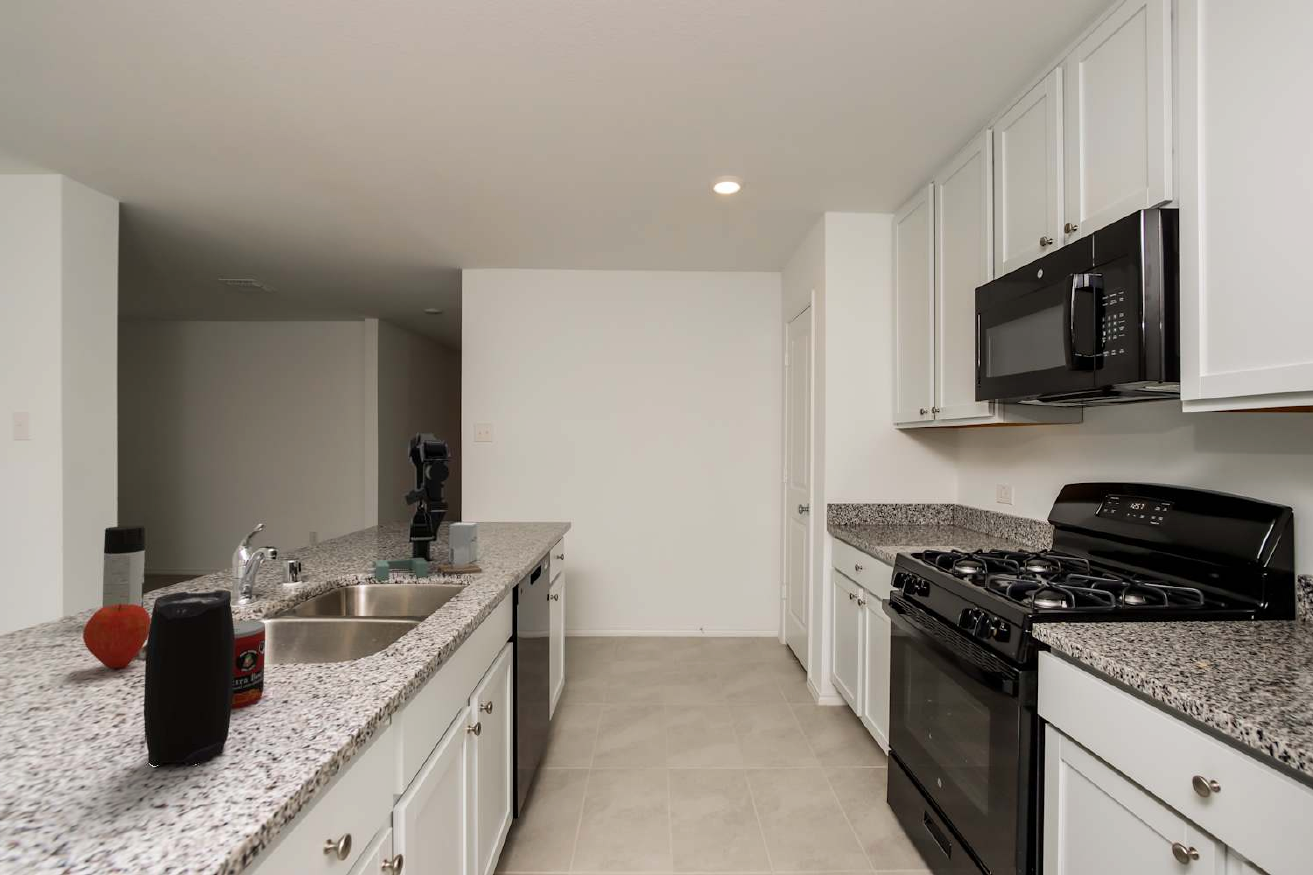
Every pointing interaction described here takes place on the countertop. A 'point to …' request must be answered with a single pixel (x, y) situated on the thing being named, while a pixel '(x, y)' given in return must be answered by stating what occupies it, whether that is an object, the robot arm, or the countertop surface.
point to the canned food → (248, 662)
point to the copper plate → (449, 570)
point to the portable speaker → (189, 677)
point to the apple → (117, 634)
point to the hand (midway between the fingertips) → (431, 531)
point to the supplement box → (464, 538)
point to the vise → (398, 567)
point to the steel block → (459, 557)
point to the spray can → (124, 566)
